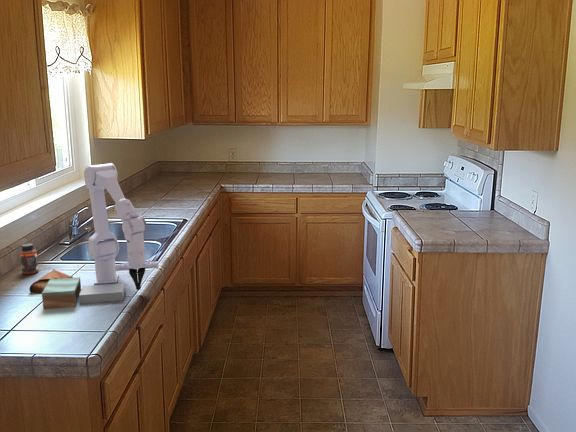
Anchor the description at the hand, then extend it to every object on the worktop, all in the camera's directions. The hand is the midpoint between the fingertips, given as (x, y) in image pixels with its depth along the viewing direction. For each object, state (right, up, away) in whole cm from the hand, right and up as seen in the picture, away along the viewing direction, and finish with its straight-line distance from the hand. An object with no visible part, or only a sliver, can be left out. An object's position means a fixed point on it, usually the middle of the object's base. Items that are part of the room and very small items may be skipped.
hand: (138, 288), depth 193 cm
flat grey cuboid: (-12, -3, -2) cm, 12 cm away
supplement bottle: (-49, +3, +24) cm, 54 cm away
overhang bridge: (-24, -3, -5) cm, 25 cm away
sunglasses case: (-35, 0, +10) cm, 36 cm away
